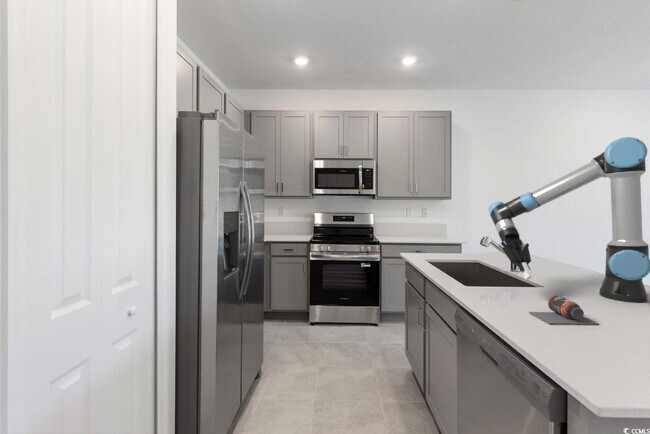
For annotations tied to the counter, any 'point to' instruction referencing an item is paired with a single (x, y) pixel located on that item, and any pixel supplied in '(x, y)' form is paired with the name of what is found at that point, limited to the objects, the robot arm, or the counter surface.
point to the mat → (561, 319)
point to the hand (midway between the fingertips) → (528, 277)
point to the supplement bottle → (565, 307)
